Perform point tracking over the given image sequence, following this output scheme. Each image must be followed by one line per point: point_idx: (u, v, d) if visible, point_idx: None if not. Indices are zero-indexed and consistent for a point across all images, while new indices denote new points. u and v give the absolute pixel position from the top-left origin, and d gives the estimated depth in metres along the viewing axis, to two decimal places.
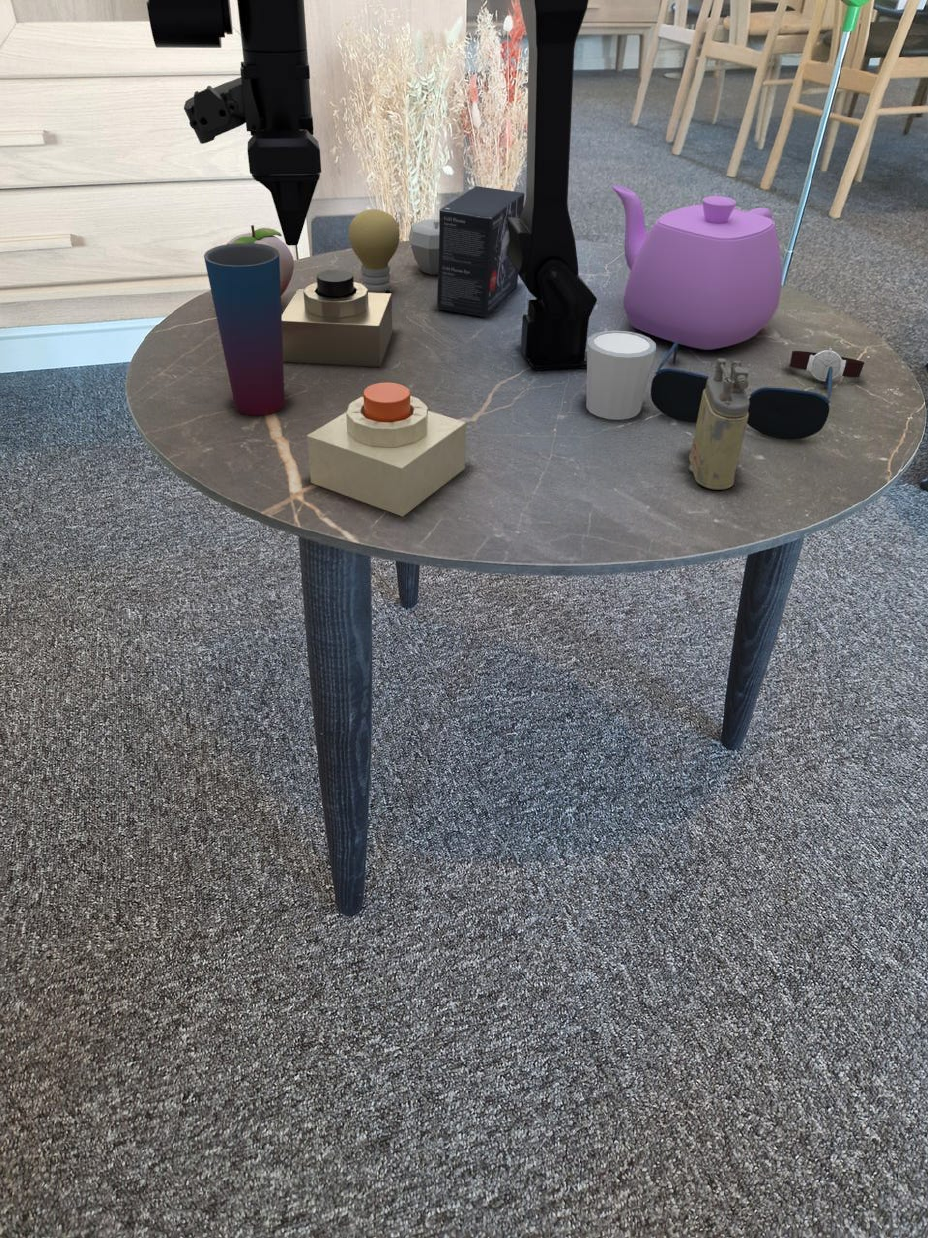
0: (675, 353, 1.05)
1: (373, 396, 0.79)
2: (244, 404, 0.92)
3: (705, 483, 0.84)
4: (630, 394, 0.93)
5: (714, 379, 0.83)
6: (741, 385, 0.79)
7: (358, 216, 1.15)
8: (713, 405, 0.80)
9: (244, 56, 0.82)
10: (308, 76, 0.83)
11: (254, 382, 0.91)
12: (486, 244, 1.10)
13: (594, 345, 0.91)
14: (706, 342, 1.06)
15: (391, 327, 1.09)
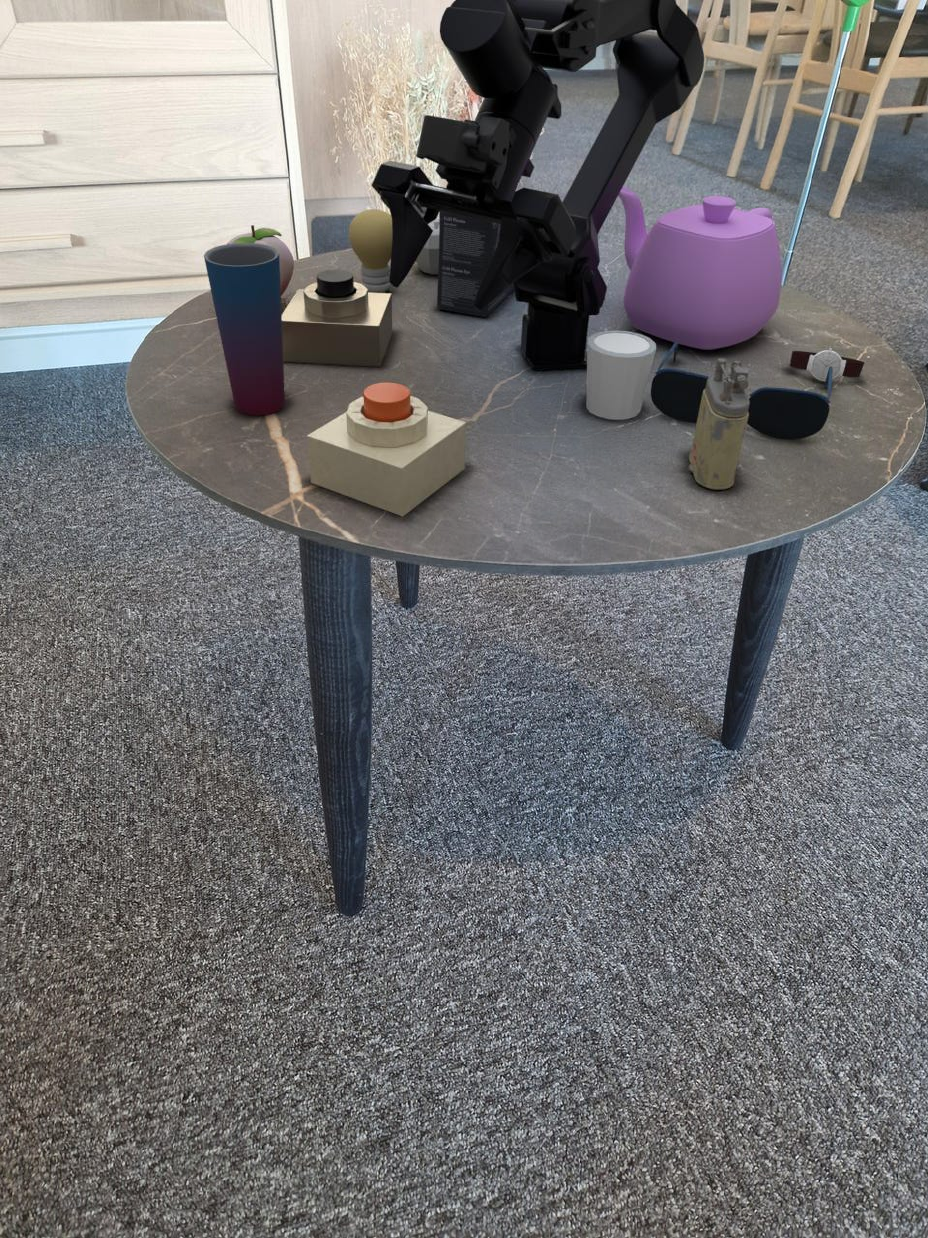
0: (675, 353, 1.05)
1: (373, 396, 0.79)
2: (244, 404, 0.92)
3: (705, 483, 0.84)
4: (630, 394, 0.93)
5: (714, 379, 0.83)
6: (741, 385, 0.79)
7: (358, 216, 1.15)
8: (713, 405, 0.80)
9: None
10: (530, 174, 0.83)
11: (254, 382, 0.91)
12: (486, 244, 1.10)
13: (594, 345, 0.91)
14: (706, 342, 1.06)
15: (391, 327, 1.09)
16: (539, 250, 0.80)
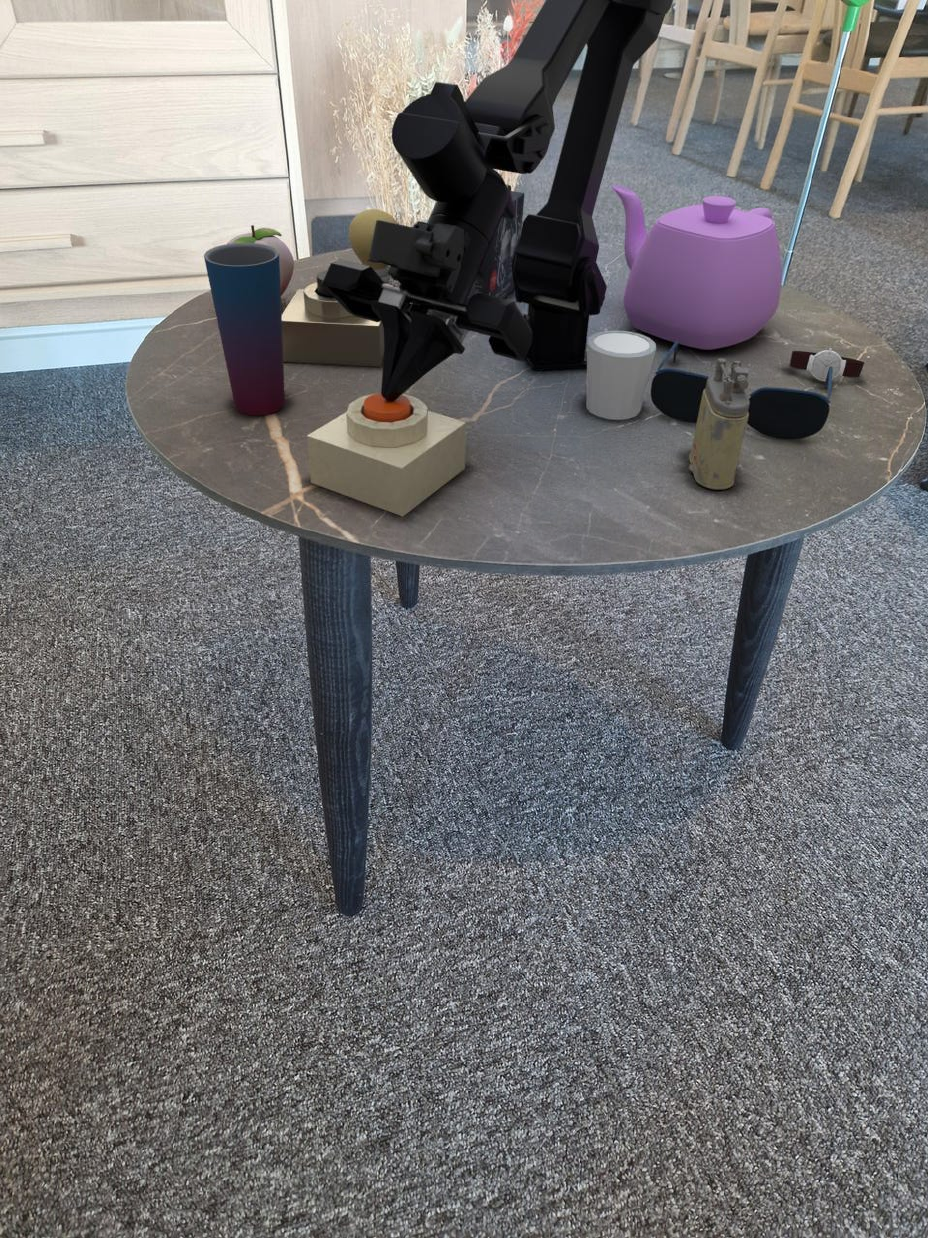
0: (675, 353, 1.05)
1: (373, 406, 0.79)
2: (244, 404, 0.92)
3: (705, 483, 0.84)
4: (630, 394, 0.93)
5: (714, 379, 0.83)
6: (741, 385, 0.79)
7: (358, 216, 1.15)
8: (713, 405, 0.80)
9: (453, 223, 0.77)
10: (484, 275, 0.82)
11: (254, 382, 0.91)
12: None
13: (594, 345, 0.91)
14: (706, 342, 1.06)
15: None
16: (450, 343, 0.79)
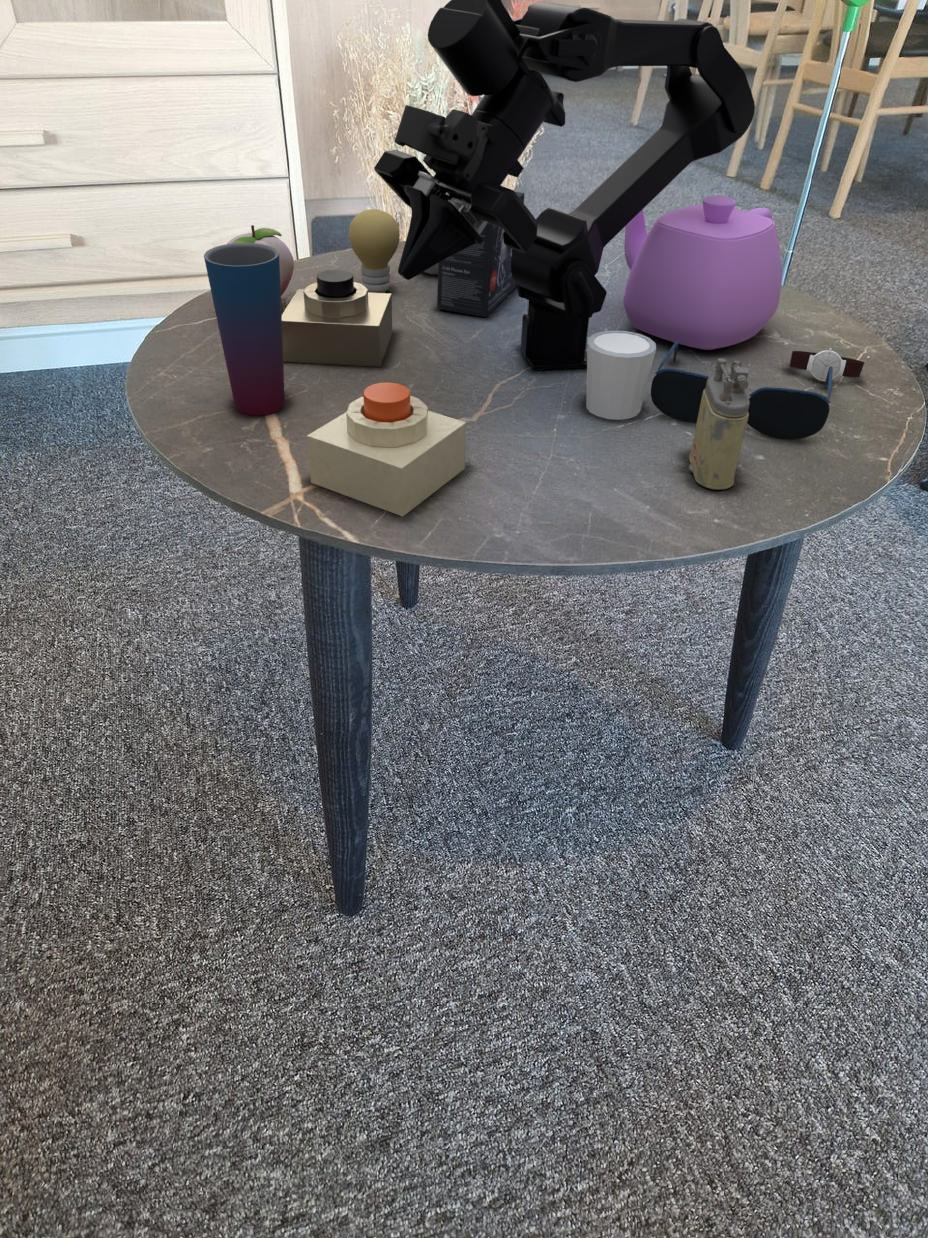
0: (675, 353, 1.05)
1: (373, 396, 0.79)
2: (244, 404, 0.92)
3: (705, 483, 0.84)
4: (630, 394, 0.93)
5: (714, 379, 0.83)
6: (741, 385, 0.79)
7: (358, 216, 1.15)
8: (713, 405, 0.80)
9: (485, 118, 0.83)
10: (518, 175, 0.87)
11: (254, 382, 0.91)
12: (486, 243, 1.10)
13: (594, 345, 0.91)
14: (706, 342, 1.06)
15: (391, 327, 1.09)
16: (467, 231, 0.85)
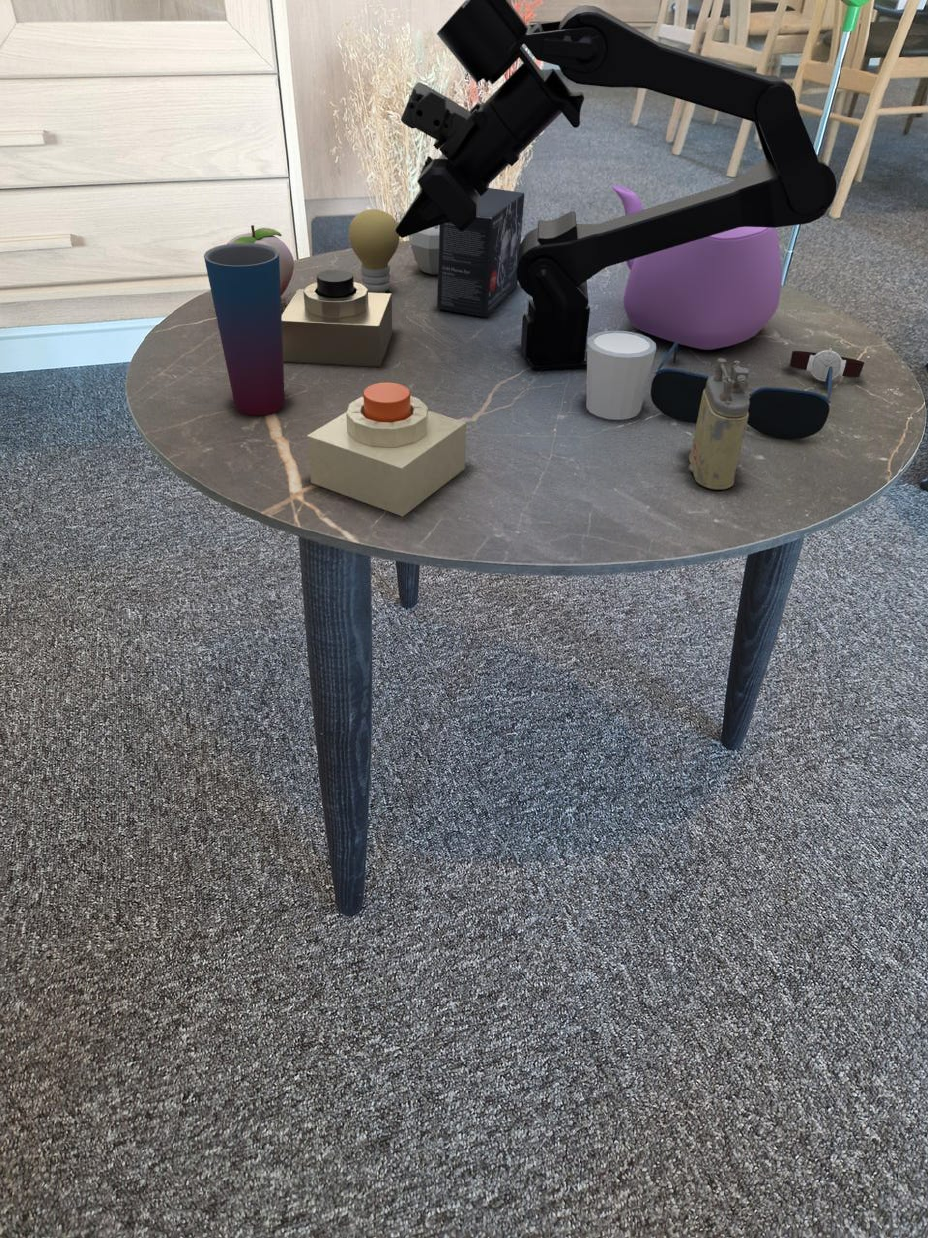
0: (675, 353, 1.05)
1: (373, 396, 0.79)
2: (244, 404, 0.92)
3: (705, 483, 0.84)
4: (630, 394, 0.93)
5: (714, 379, 0.83)
6: (741, 385, 0.79)
7: (358, 216, 1.15)
8: (713, 405, 0.80)
9: (485, 105, 0.90)
10: (511, 164, 0.91)
11: (254, 382, 0.91)
12: (486, 243, 1.10)
13: (594, 345, 0.91)
14: (706, 342, 1.06)
15: (391, 327, 1.09)
16: None
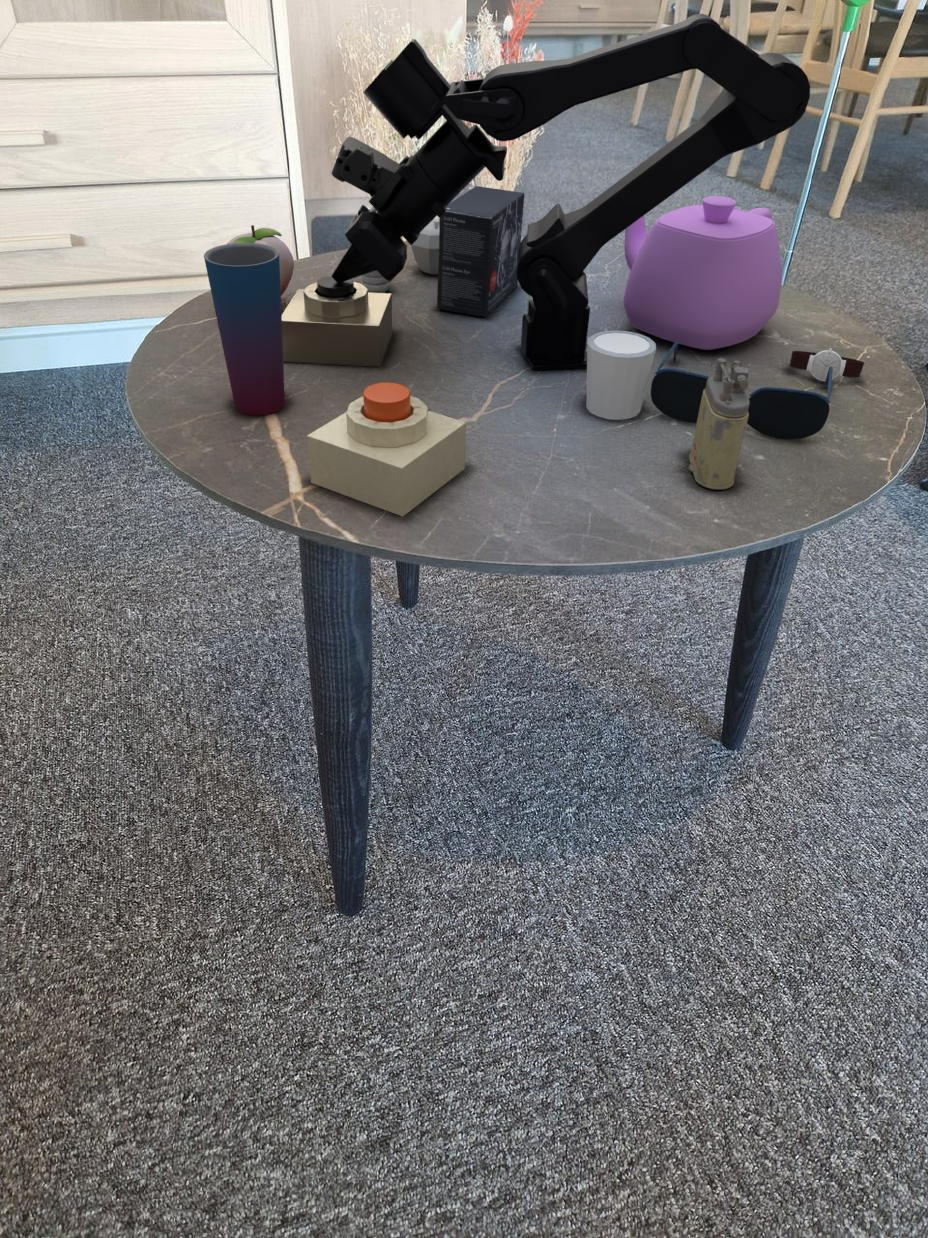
0: (675, 353, 1.05)
1: (373, 396, 0.79)
2: (244, 404, 0.92)
3: (705, 483, 0.84)
4: (630, 394, 0.93)
5: (714, 379, 0.83)
6: (741, 385, 0.79)
7: None
8: (713, 405, 0.80)
9: (412, 159, 0.93)
10: (439, 215, 0.95)
11: (254, 382, 0.91)
12: (486, 243, 1.10)
13: (594, 345, 0.91)
14: (706, 342, 1.06)
15: (391, 327, 1.09)
16: None
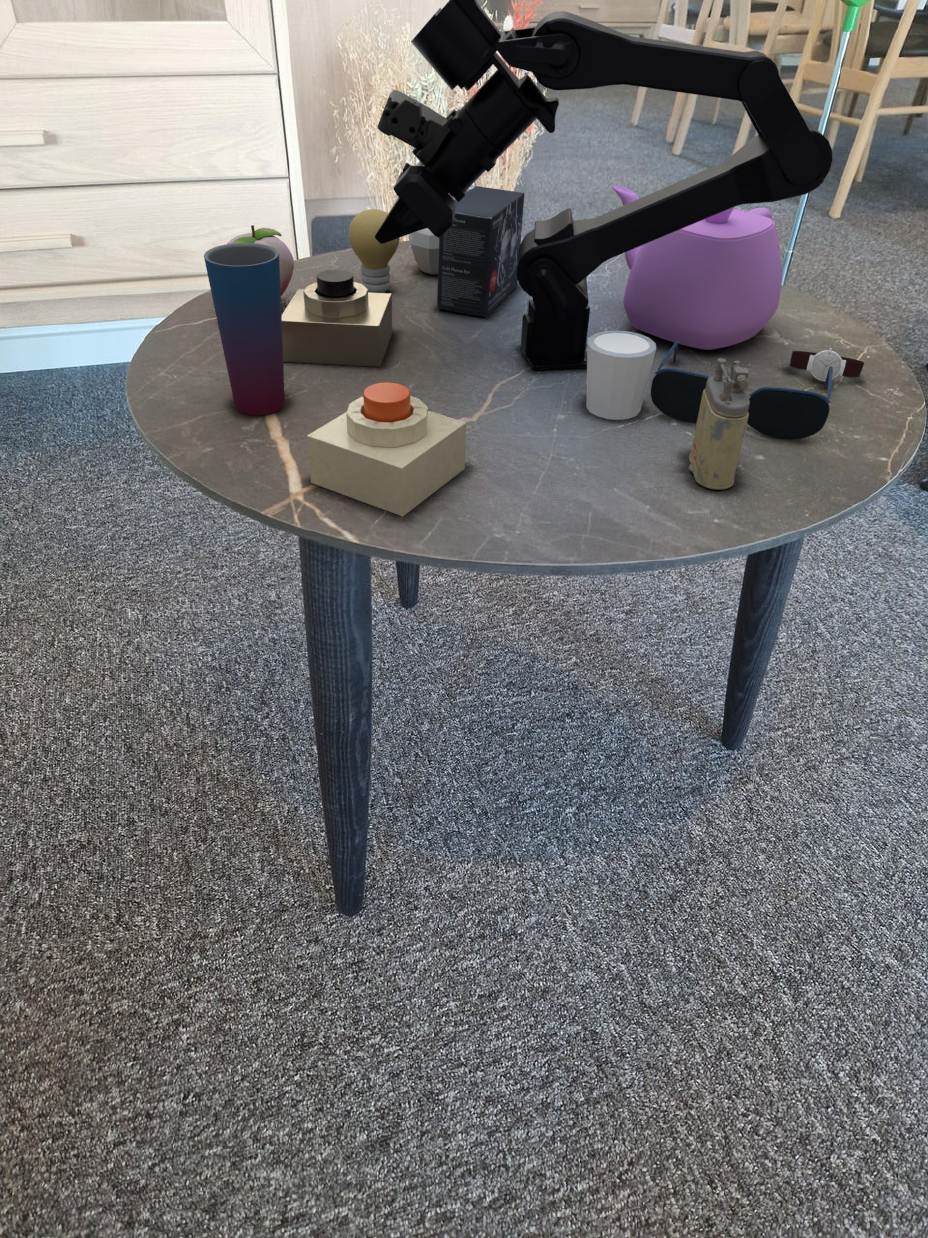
0: (675, 353, 1.05)
1: (373, 396, 0.79)
2: (244, 404, 0.92)
3: (705, 483, 0.84)
4: (630, 394, 0.93)
5: (714, 379, 0.83)
6: (741, 385, 0.79)
7: (358, 216, 1.15)
8: (713, 405, 0.80)
9: (460, 112, 0.90)
10: (488, 170, 0.92)
11: (254, 382, 0.91)
12: (486, 243, 1.10)
13: (594, 345, 0.91)
14: (706, 342, 1.06)
15: (391, 327, 1.09)
16: None
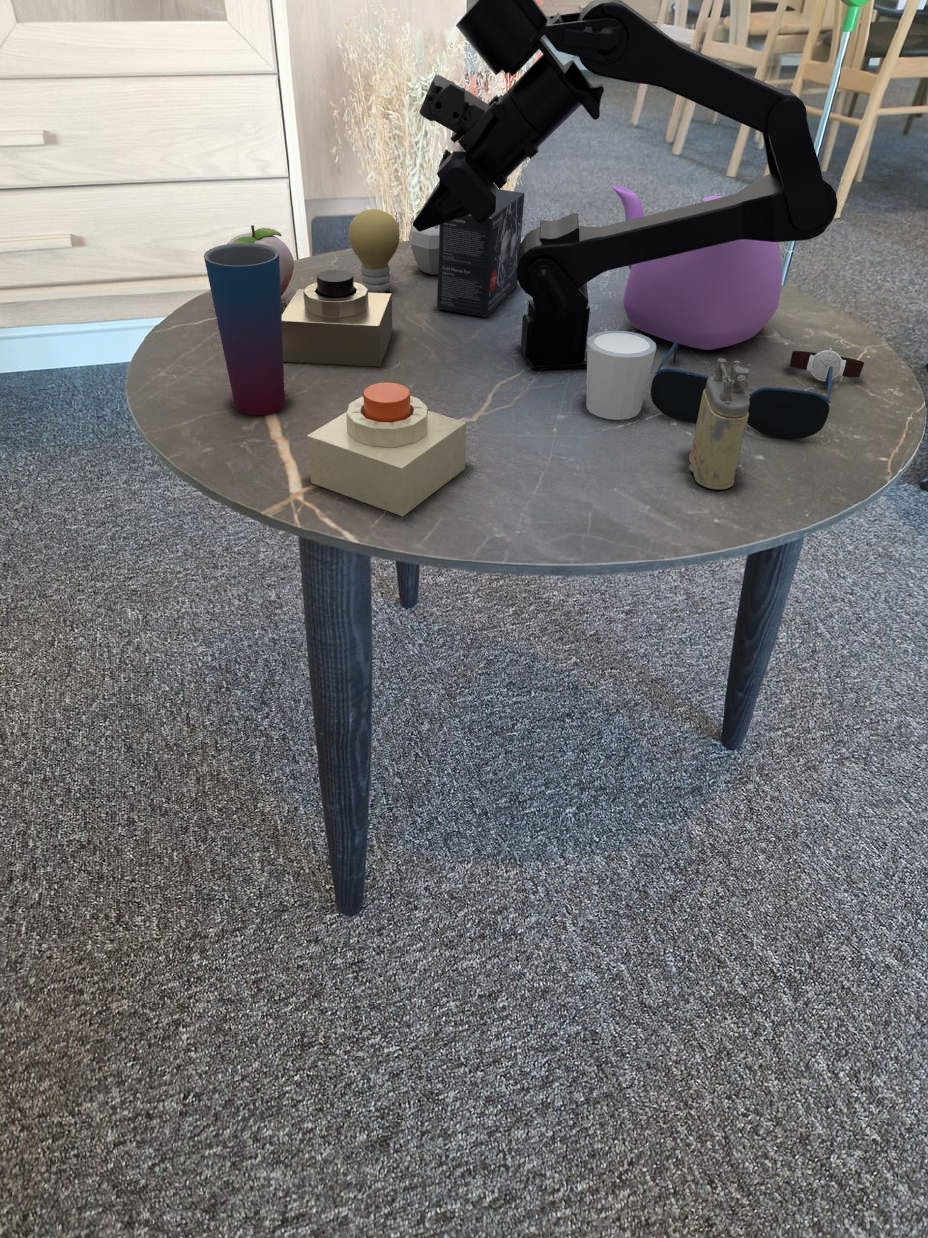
0: (675, 353, 1.05)
1: (373, 396, 0.79)
2: (244, 404, 0.92)
3: (705, 483, 0.84)
4: (630, 394, 0.93)
5: (714, 379, 0.83)
6: (741, 385, 0.79)
7: (358, 216, 1.15)
8: (713, 405, 0.80)
9: (504, 97, 0.89)
10: (530, 156, 0.91)
11: (254, 382, 0.91)
12: (486, 244, 1.10)
13: (594, 345, 0.91)
14: (706, 342, 1.06)
15: (391, 327, 1.09)
16: None
